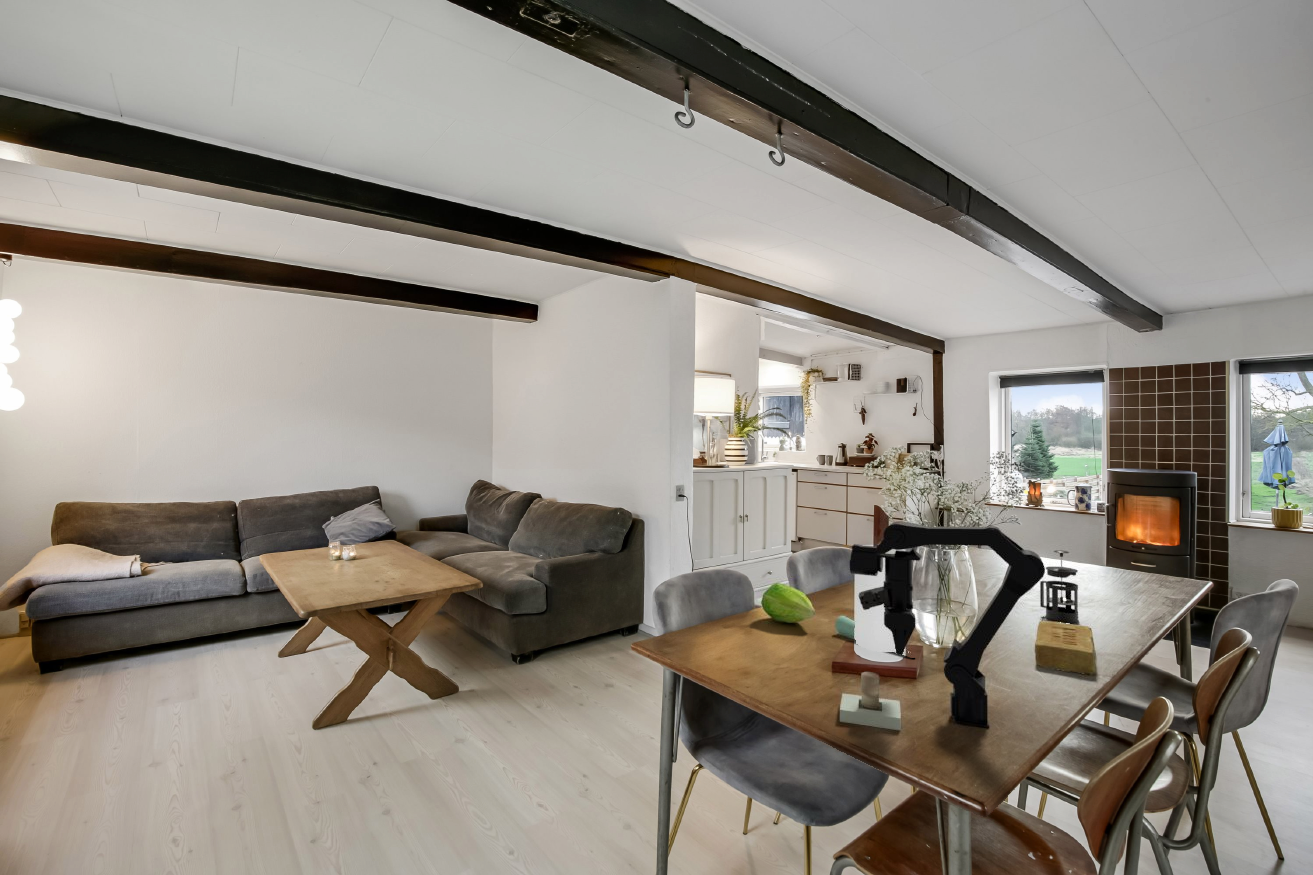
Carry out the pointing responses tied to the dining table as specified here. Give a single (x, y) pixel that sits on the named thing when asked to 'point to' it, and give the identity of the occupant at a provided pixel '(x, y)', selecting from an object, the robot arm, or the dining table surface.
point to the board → (870, 713)
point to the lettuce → (786, 604)
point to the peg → (870, 691)
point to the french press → (1055, 611)
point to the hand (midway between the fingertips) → (898, 647)
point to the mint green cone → (845, 626)
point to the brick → (1065, 647)
